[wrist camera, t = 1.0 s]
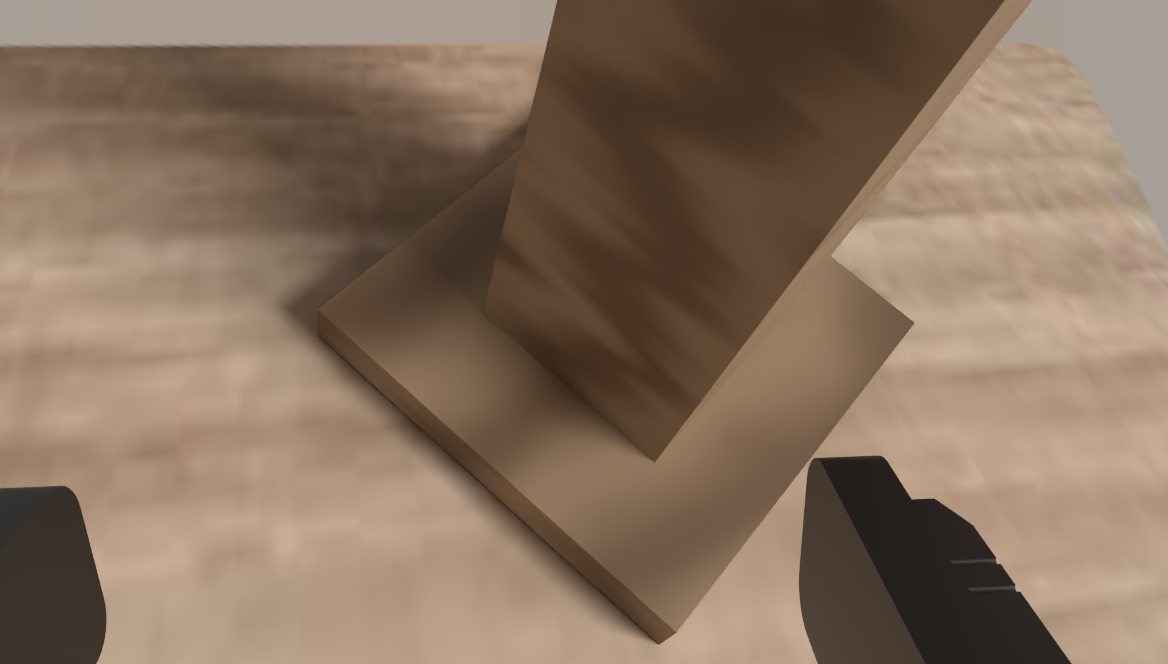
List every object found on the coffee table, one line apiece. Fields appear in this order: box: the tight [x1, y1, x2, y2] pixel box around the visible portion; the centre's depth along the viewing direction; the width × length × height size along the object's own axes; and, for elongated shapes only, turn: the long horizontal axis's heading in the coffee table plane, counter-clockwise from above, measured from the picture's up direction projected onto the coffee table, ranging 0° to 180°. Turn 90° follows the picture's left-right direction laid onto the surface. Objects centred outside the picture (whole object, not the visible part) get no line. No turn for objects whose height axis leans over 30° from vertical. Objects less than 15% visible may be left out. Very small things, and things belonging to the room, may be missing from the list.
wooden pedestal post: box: [318, 0, 1032, 644], centre depth 24 cm, size 16×16×32 cm
